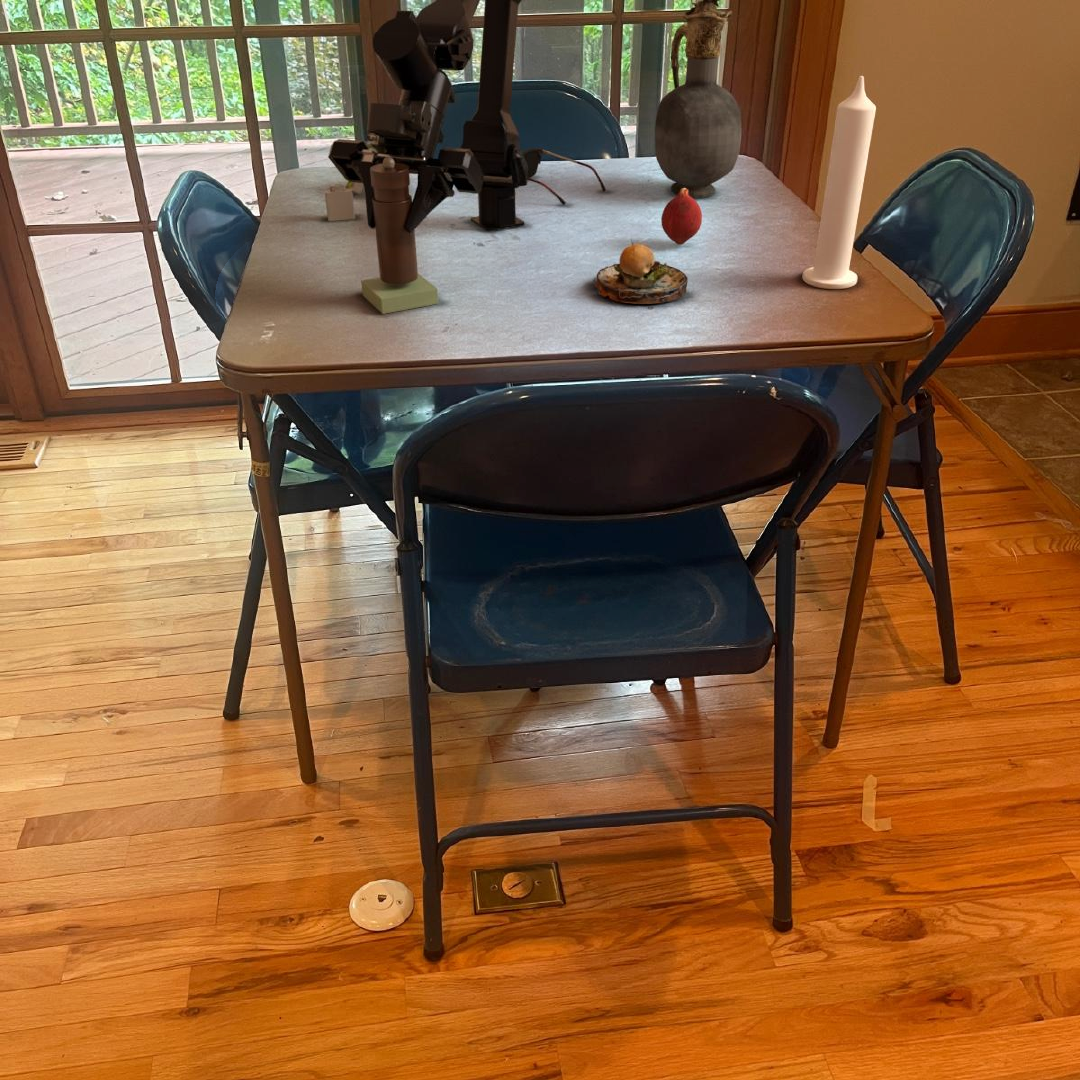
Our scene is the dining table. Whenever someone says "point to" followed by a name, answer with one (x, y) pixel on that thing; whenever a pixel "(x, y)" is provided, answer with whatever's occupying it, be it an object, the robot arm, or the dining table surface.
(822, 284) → the candle
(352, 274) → the dining table surface
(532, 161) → the sunglasses
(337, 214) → the lighter
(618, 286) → the wood slice pumpkin decoration
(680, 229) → the onion
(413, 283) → the riser block
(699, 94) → the pitcher
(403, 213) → the pepper mill
